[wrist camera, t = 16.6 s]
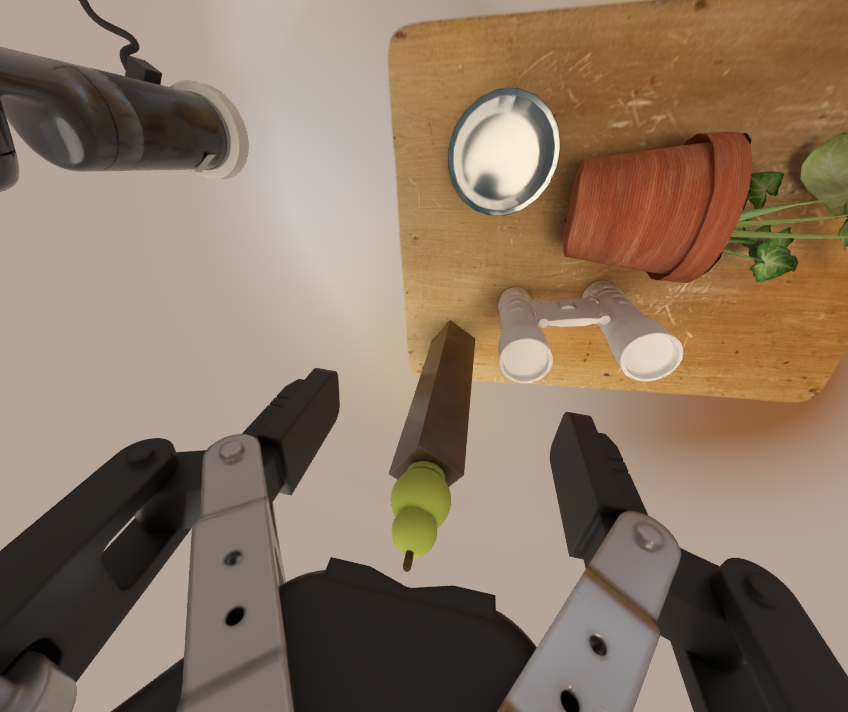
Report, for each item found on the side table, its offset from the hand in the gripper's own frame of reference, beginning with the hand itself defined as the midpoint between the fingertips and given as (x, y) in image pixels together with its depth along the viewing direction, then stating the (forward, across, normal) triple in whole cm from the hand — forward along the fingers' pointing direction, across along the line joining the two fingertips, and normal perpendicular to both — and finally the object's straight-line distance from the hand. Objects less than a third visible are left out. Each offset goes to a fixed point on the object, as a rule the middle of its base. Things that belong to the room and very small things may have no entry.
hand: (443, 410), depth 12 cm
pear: (+12, +1, +18) cm, 22 cm away
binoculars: (+40, -13, +8) cm, 43 cm away
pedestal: (+40, +1, +18) cm, 44 cm away
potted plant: (+40, -27, -6) cm, 49 cm away
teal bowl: (+40, -1, -8) cm, 41 cm away
